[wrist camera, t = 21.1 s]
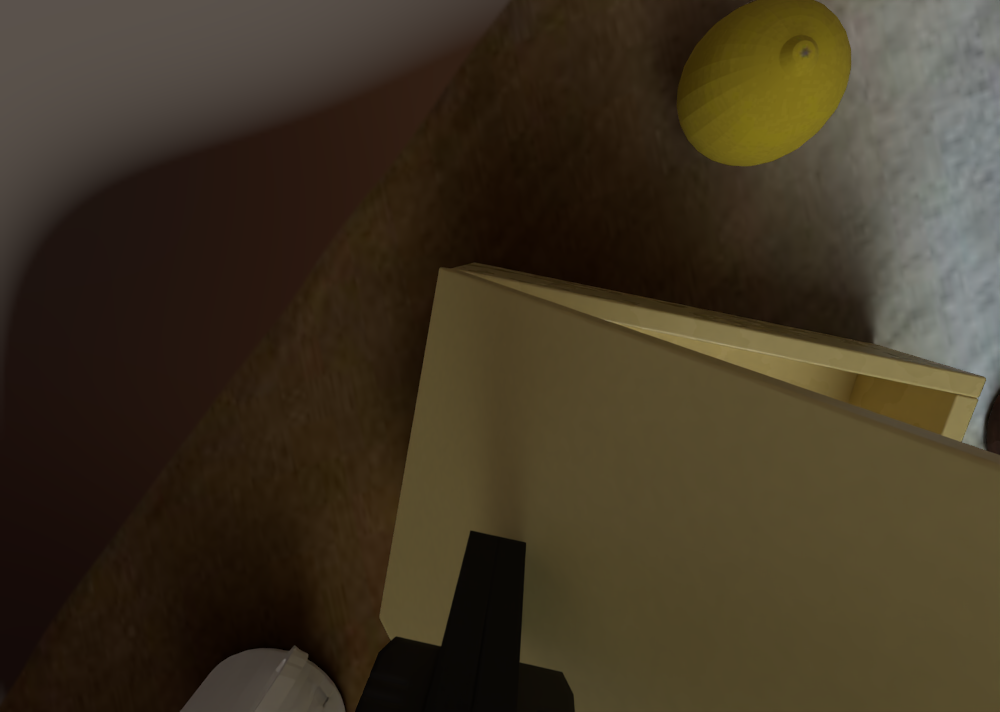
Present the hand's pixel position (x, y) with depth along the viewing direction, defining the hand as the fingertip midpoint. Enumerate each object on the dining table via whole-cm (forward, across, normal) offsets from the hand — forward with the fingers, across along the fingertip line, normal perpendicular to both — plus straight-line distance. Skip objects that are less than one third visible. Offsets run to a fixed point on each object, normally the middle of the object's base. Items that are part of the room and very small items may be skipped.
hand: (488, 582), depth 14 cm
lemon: (+14, -6, -16) cm, 22 cm away
